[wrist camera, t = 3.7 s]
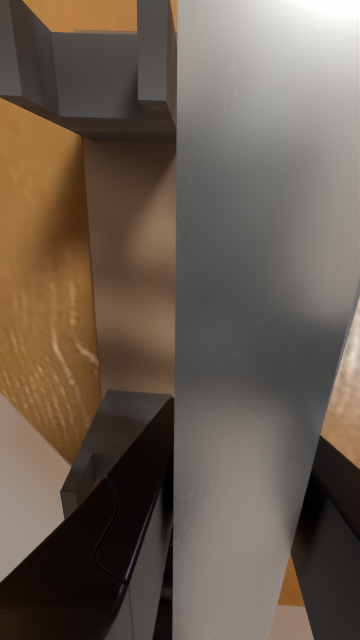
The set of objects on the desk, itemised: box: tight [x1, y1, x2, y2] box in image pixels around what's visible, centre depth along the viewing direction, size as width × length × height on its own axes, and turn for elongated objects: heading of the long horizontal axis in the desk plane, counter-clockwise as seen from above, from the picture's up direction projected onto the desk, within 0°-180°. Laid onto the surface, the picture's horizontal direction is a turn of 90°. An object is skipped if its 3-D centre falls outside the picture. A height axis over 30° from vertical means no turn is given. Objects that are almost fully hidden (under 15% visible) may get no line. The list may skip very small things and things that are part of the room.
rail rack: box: [0, 0, 178, 519], centre depth 17 cm, size 26×6×10 cm, turn 178°
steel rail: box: [172, 0, 360, 640], centre depth 7 cm, size 22×2×2 cm, turn 179°
